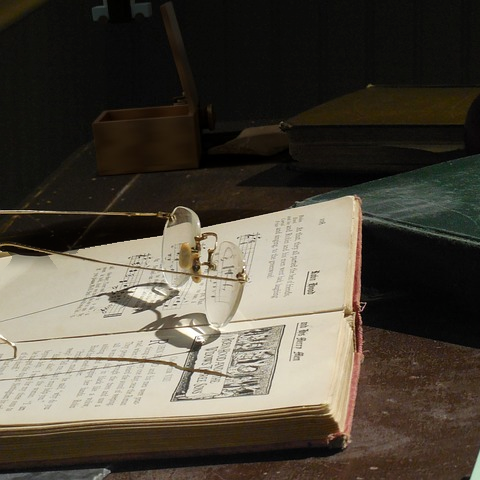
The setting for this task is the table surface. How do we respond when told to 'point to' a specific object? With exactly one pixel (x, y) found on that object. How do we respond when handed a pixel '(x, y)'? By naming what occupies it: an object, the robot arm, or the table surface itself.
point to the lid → (180, 55)
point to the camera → (201, 117)
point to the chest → (147, 140)
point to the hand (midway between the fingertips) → (123, 20)
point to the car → (138, 12)
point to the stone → (255, 142)
